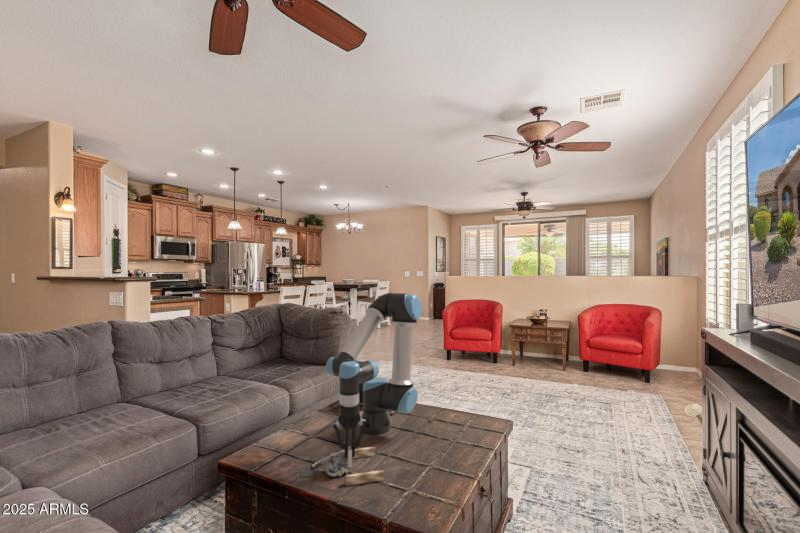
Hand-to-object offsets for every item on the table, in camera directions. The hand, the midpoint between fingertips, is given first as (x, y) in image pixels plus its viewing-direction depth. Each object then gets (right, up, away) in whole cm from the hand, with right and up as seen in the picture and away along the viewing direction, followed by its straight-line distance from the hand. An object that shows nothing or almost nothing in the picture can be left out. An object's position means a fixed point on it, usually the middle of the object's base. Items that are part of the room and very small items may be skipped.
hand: (349, 465), depth 145 cm
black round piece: (-4, -2, +64) cm, 64 cm away
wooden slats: (+4, -2, +1) cm, 5 cm away
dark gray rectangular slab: (-15, -2, -3) cm, 16 cm away
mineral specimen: (-6, -2, -2) cm, 6 cm away
